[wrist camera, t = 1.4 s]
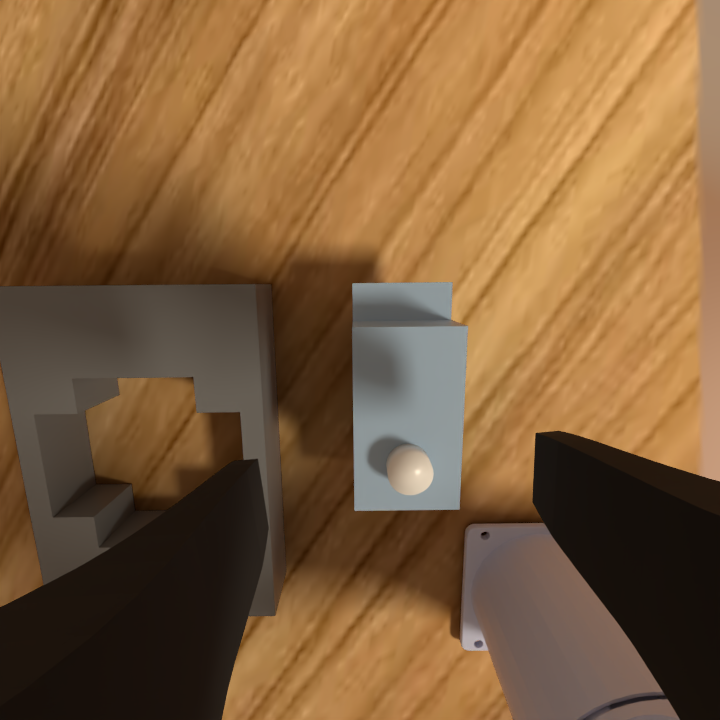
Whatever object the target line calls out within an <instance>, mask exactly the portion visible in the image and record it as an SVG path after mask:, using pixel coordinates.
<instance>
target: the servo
mask: <svg viewBox="0 0 720 720" xmlns="http://www.w3.org/2000/svg"><path fill="white" fill-rule="evenodd" d="M352 295H353V324H352V360H353V436H354V511H389V510H459V509H460V487H461V465H462V443H463V422H464V400H465V378H466V356H467V335H468V326H466V325H463V324H461V323H458V322H455V321H453V320H451V308H452V282H436V283H352Z"/></svg>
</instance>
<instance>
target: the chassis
mask: <svg viewBox="0 0 720 720" xmlns="http://www.w3.org/2000/svg"><path fill="white" fill-rule="evenodd" d="M0 362H1V367H2V372H3V377H4V383H5V388H6V393H7V398H8V403H9V408H10V414H11V419H12V424H13V429H14V434H15V439H16V444H17V450H18V455H19V460H20V465H21V470H22V475H23V481H24V486H25V491H26V496H27V501H28V506H29V512H30V517H31V522H32V527H33V532H34V537H35V542H36V548H37V553H38V558H39V563H40V568H41V573H42V579H43V584H44V585H45V584H47V583H49V582H51V581H53V580H55V579H57V578H59V577H60V576H62V575H64V574H66V573H68V572H70V571H72V570H74V569H76V568H77V567H79V566H81V565H83V564H85V563H86V562H88V561H90V560H91V559H93V558H95V557H96V556H98V555H100V554H101V553H103V552H105V551H107V550H108V549H110V548H112V547H113V546H115V545H116V544H118V543H120V542H121V541H123V540H124V539H126V538H128V537H129V536H131V535H132V534H134V533H135V532H137V531H138V530H140V529H141V528H143V527H144V526H145V525H147V524H148V523H150V522H151V521H152V520H154V519H155V518H157V517H158V516H160V515H161V514H162V513H164V512H165V511H167V510H158V511H135V507H134V499H133V492H132V484H96V481H95V474H94V468H93V461H92V455H91V448H90V442H89V435H88V429H87V422H86V416H85V410H87V409H89V408H92V407H94V406H96V405H98V404H100V403H102V402H105V401H107V400H109V399H111V398H113V397H115V396H118V395H119V388H118V381H117V378H158V377H193V379H194V390H195V400H196V411H197V413H209V412H240V417H241V431H242V445H243V458H244V460H249V459H258V462H259V468H260V474H261V481H262V487H263V494H264V500H265V506H266V513H267V519H268V525H269V530H268V537H267V544H266V550H265V556H264V562H263V567H262V571H261V574H260V578H259V581H258V585H257V588H256V592H255V595H254V599H253V602H252V605H251V609H250V612H249V615H248V616H275V615H276V611H277V607H278V603H279V599H280V595H281V591H282V587H283V583H284V579H285V575H286V554H285V535H284V516H283V497H282V478H281V459H280V440H279V421H278V402H277V383H276V364H275V345H274V326H273V307H272V288H271V284H208V285H97V286H0Z"/></svg>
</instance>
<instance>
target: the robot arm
mask: <svg viewBox="0 0 720 720" xmlns="http://www.w3.org/2000/svg"><path fill="white" fill-rule="evenodd" d="M533 504H534V506H535V507H536V509H537V511H538V513H539V515H540V517H541V518H542V520H543V522H544V523H500V524H471V525H469V526H468V527H467V528H466V530H465V541H464V562H463V582H462V602H461V623H460V642H461V646H462V647H463V649H465V650H469V651H480V650H488V651H489V654H490V656H491V659H492V662H493V665H494V668H495V670H496V673H497V676H498V679H499V681H500V684H501V687H502V690H503V693H504V695H505V698H506V701H507V704H508V706H509V709H510V712H511V715H512V717H513V720H720V482H719V481H716V480H712V479H708V478H705V477H702V476H699V475H696V474H692V473H689V472H686V471H683V470H679V469H676V468H673V467H670V466H667V465H664V464H661V463H657V462H654V461H651V460H648V459H646V458H643V457H640V456H637V455H634V454H631V453H628V452H625V451H622V450H619V449H616V448H614V447H611V446H608V445H605V444H602V443H599V442H596V441H593V440H590V439H587V438H584V437H581V436H577V435H574V434H570V433H566V432H561V431H553V432H542V433H536V437H535V459H534V481H533ZM268 530H269V525H268V519H267V513H266V506H265V500H264V494H263V487H262V481H261V474H260V468H259V462H258V459H249V460H238V461H233V462H231V463H230V464H228V465H227V466H225V467H224V468H222V469H221V470H220V471H218V472H217V473H216V474H215V475H213V476H212V477H211V478H209V479H208V480H207V481H205V482H204V483H203V484H202V485H200V486H199V487H198V488H196V489H195V490H194V491H192V492H191V493H190V494H188V495H187V496H186V497H185V498H183V499H182V500H181V501H179V502H178V503H177V504H175V505H174V506H172V507H171V508H170V509H168V510H167V511H165V512H164V513H162V514H161V515H160V516H158V517H157V518H155V519H154V520H152V521H151V522H150V523H148V524H147V525H145V526H144V527H143V528H141V529H140V530H138V531H137V532H135V533H134V534H132V535H131V536H129V537H128V538H126V539H124V540H123V541H121V542H120V543H118V544H116V545H115V546H113V547H112V548H110V549H108V550H107V551H105V552H103V553H101V554H100V555H98V556H96V557H95V558H93V559H91V560H90V561H88V562H86V563H85V564H83V565H81V566H79V567H77V568H76V569H74V570H72V571H70V572H68V573H66V574H64V575H62V576H60V577H59V578H57V579H55V580H53V581H51V582H49V583H47V584H45V585H43V586H41V587H39V588H37V589H36V590H34V591H32V592H30V593H28V594H26V595H24V596H22V597H20V598H18V599H16V600H14V601H12V602H10V603H8V604H6V605H4V606H2V607H0V720H222V715H223V710H224V705H225V700H226V695H227V690H228V686H229V682H230V678H231V675H232V671H233V667H234V663H235V660H236V656H237V653H238V649H239V646H240V643H241V639H242V636H243V632H244V629H245V626H246V622H247V619H248V615H249V612H250V609H251V605H252V602H253V599H254V595H255V592H256V588H257V585H258V581H259V578H260V574H261V571H262V567H263V562H264V556H265V550H266V544H267V537H268ZM482 532H487V534H486V535H483V536H482V535H481V533H482ZM477 640H479V641H477ZM476 641H477V642H476Z"/></svg>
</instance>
